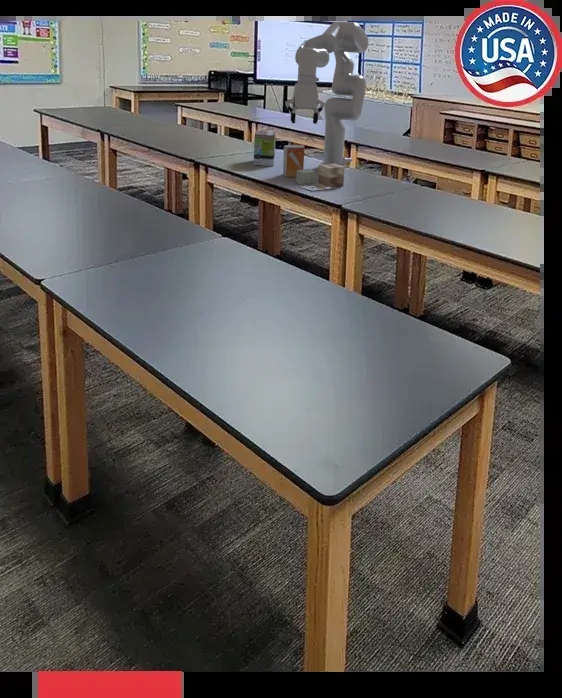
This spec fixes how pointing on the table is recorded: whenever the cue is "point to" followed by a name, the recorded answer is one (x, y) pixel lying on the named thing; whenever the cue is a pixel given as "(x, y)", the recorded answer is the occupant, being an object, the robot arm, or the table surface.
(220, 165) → the table surface
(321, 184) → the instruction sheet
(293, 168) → the small box
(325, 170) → the wood-grain cube
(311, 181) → the sage brick
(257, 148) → the tea box
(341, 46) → the robot arm
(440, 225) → the table surface
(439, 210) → the table surface
